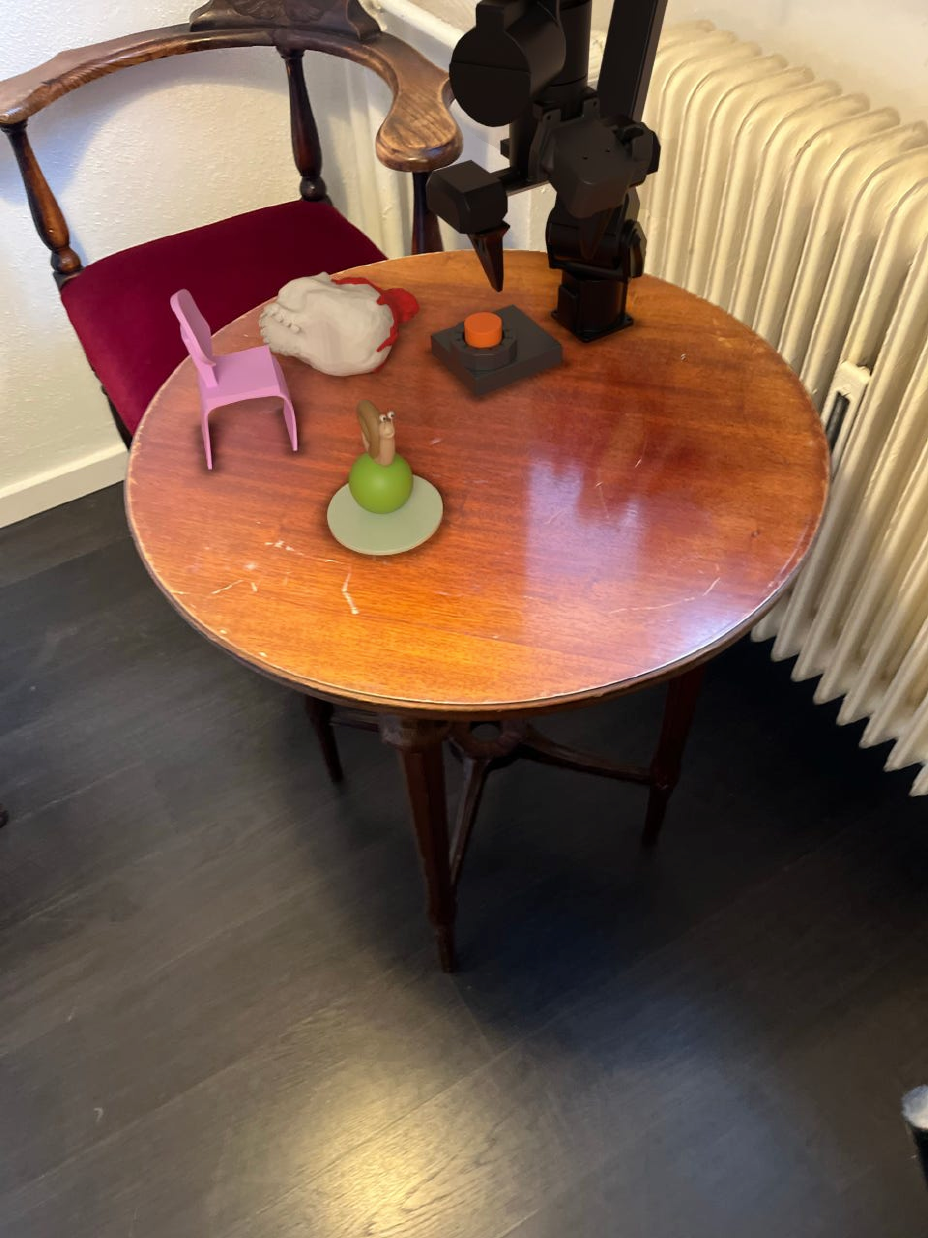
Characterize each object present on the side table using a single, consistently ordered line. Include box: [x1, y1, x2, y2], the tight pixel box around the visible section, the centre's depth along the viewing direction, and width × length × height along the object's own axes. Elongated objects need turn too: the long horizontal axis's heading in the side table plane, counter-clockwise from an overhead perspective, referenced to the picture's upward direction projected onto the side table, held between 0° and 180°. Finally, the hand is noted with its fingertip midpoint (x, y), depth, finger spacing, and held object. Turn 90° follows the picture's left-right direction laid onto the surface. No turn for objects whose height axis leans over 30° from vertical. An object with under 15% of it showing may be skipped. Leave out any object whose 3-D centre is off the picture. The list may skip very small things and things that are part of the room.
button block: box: [430, 303, 563, 398], centre depth 89 cm, size 10×9×4 cm
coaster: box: [326, 473, 444, 556], centre depth 77 cm, size 10×10×1 cm
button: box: [464, 311, 502, 348], centre depth 86 cm, size 4×4×2 cm
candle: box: [258, 271, 421, 377], centre depth 89 cm, size 9×11×15 cm
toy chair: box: [170, 288, 298, 470], centre depth 78 cm, size 8×9×15 cm
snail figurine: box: [348, 398, 413, 514], centre depth 72 cm, size 5×6×12 cm
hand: (542, 273), depth 76 cm, fingers open, 9 cm apart
